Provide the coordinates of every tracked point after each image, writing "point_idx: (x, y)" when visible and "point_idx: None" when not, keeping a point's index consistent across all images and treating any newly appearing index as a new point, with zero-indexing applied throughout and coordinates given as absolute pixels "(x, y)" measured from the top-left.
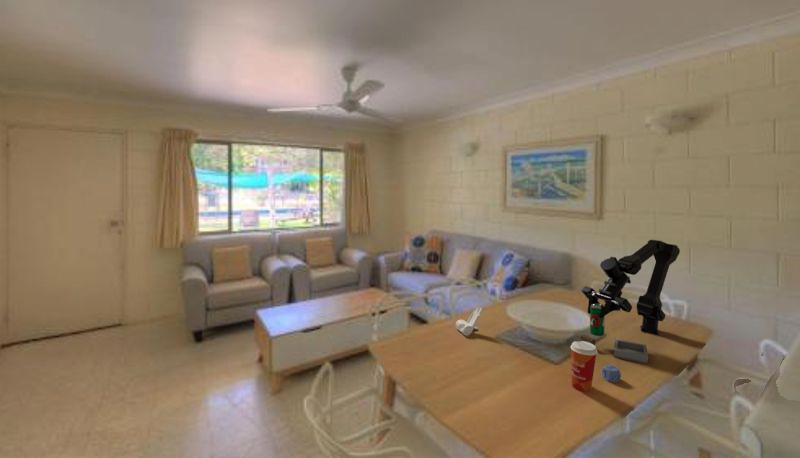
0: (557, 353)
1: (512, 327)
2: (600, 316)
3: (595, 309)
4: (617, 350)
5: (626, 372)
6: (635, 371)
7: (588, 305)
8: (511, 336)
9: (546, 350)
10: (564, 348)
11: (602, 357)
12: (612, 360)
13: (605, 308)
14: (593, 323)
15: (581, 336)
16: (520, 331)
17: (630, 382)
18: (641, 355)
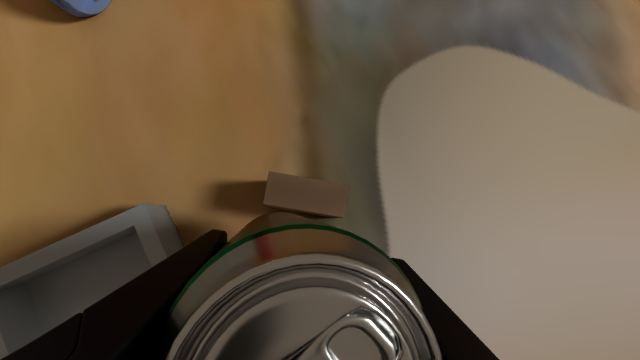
0: (345, 23)
1: (634, 93)
2: (206, 238)
3: (272, 227)
4: (129, 209)
5: (59, 100)
6: (32, 144)
7: (472, 335)
8: (560, 8)
9: (389, 10)
10: (358, 92)
11: (200, 153)
12: (154, 163)
13: (54, 328)
14: (287, 214)
15: (343, 185)
16: (584, 85)
17: (14, 29)
18: (2, 266)
